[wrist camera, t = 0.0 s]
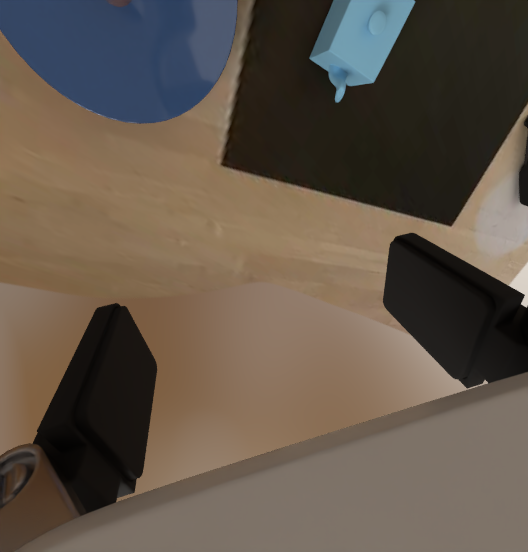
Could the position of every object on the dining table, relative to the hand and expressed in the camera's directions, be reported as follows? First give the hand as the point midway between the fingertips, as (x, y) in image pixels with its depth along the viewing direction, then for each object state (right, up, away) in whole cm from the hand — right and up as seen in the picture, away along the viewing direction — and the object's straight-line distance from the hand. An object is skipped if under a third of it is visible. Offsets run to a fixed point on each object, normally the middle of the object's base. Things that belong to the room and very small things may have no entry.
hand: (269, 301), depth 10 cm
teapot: (+9, +28, +23) cm, 37 cm away
